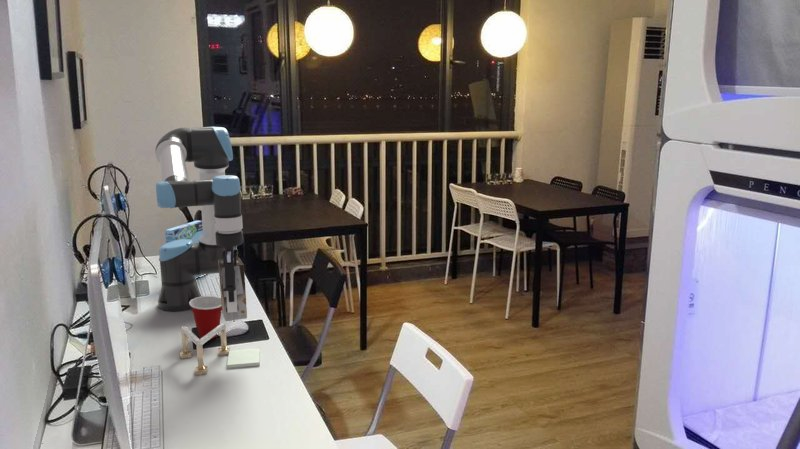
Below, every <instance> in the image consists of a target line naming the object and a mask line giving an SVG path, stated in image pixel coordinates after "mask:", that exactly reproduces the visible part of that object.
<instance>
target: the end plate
mask: <svg viewBox="0 0 800 449" xmlns="http://www.w3.org/2000/svg"><path fill="white" fill-rule="evenodd" d="M227 356H228V357H227V364H226V366H227V369H234V368H235V369H237V368H244V367H245V368H246V367H256V366H259V367H260V365H261V364H260V362H261V348H259V347H258V348H256V347H255V348H248V349H247V348H244V349H236V350H235V349H234V350H231V349H230V351H229V355H227Z"/></svg>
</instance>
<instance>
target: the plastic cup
mask: <svg viewBox="0 0 800 449" xmlns="http://www.w3.org/2000/svg"><path fill="white" fill-rule="evenodd" d="M201 296H202V297H197V298H194V299H192V300H191V301H190V302H189V304H190V306H191V308H192V309H191V311H192V315H193V319H194V321H195V322H194V323H195V326H196V329H197V333H198V337H199V339H201V338H202V337H204V336H205V335H206V334H208V333H209V332H210V331H212V330H213V329H214V328H216V327H217V326H219V325H220V324H221V317H222V304H221V297H219V296H216V295H215V296H214V295H213V296H212V295H206V296H205V295H201ZM215 337H216V338H217V337H218V336H217V334H216V335H215V336H213V337H212V338H211V339H210V340H212V339H215Z"/></svg>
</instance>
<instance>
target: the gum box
mask: <svg viewBox="0 0 800 449" xmlns="http://www.w3.org/2000/svg"><path fill="white" fill-rule="evenodd" d="M164 234H165V237H164V238H165V244H166V243H169V242H172V241H176V240H181V239H190V240H192V242H193V244H194V243H199V237H200V236H201V235H202V234H203V226H202V220H194V221H191V222H188V223H187V222H186V223H183V224H181V225H177V226H174V227H171V228H167V229H165V230H164ZM199 276H201V275H195V278H196V277H199Z"/></svg>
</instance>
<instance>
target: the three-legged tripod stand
mask: <svg viewBox="0 0 800 449" xmlns="http://www.w3.org/2000/svg"><path fill="white" fill-rule="evenodd" d="M180 329H181V331H180V332H181V343H182V345H181V347H182V350H181V351H180V354H179V359H190V358H192V355H193V349H190V350H189V340H190V341H192V342H193V344H195V345H196V358H197V366H195V369H194V375H195V376H198V375H199V376H200V375H201V376H202V375H207V374H208V371H209V367H208V366H209V365H205V360H204V349H203V345H204V344H205V343H207V342H208V341H211V340H212V339H211V338H212V337H213V336H215V335H216V334H217V333H220V336H219V337H220V347H219V348H218V351H217V353H218V354H217V355H218V356H229V351H231V347H228V343H227V332H226V331H227V330H226V323H221V322H220V325H219V326H217V327H216V328H214V329H213V330H212V331H210V332H209V333H208V334H206V335H205V336H204V337H202V338H200V337H199V336H197V335H196V334H195V333H193V331H191V330H190V329H189V327H188V326H186V325H184V326H181V328H180Z"/></svg>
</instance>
